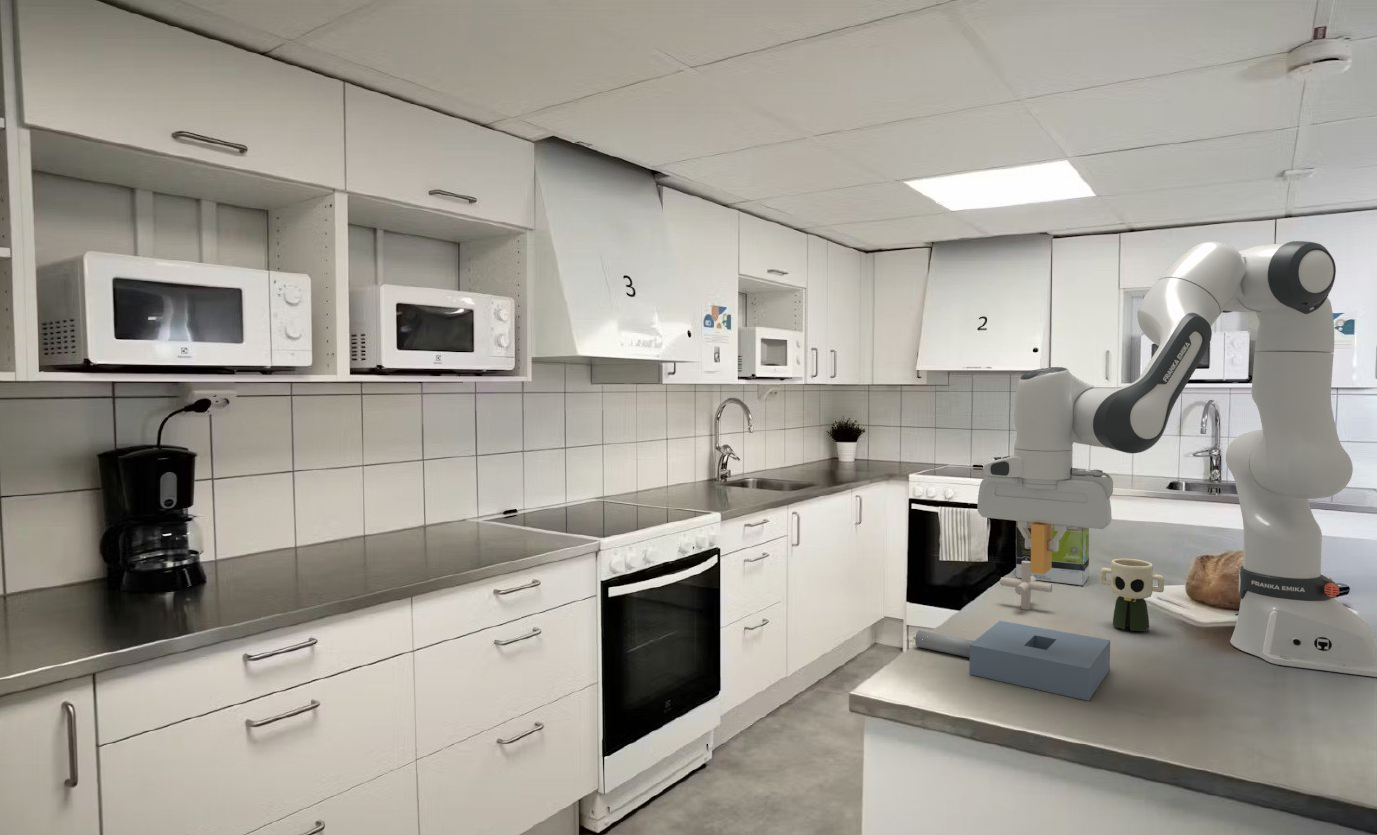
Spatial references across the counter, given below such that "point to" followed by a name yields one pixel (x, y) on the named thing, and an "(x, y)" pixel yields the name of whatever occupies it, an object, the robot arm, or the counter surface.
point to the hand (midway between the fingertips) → (1041, 549)
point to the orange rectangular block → (1040, 548)
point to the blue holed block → (1031, 657)
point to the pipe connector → (1026, 585)
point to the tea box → (1060, 556)
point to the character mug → (1131, 591)
